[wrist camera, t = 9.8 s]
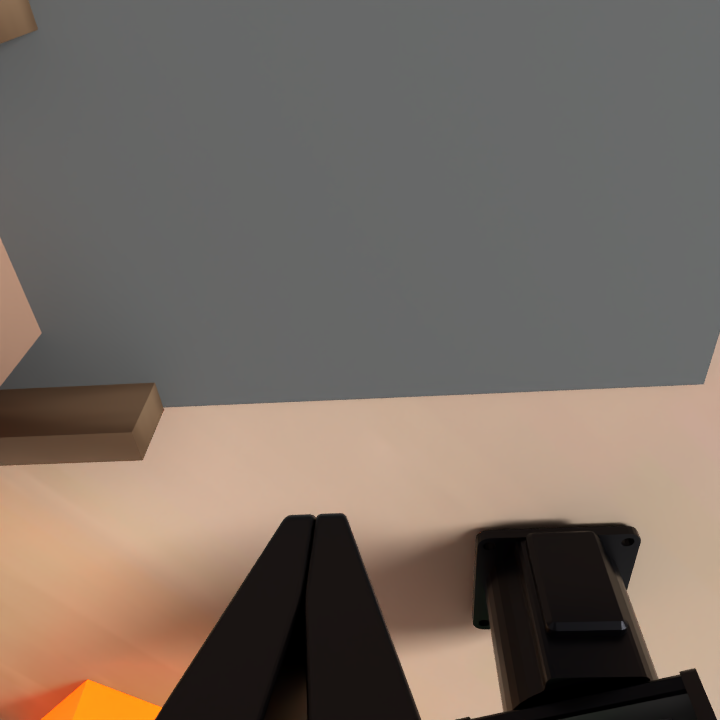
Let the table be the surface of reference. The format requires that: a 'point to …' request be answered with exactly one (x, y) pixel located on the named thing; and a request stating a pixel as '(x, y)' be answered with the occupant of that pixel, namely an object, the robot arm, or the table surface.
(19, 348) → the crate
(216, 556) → the table surface
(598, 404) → the table surface
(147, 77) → the runner mat
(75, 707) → the orange juice
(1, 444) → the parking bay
